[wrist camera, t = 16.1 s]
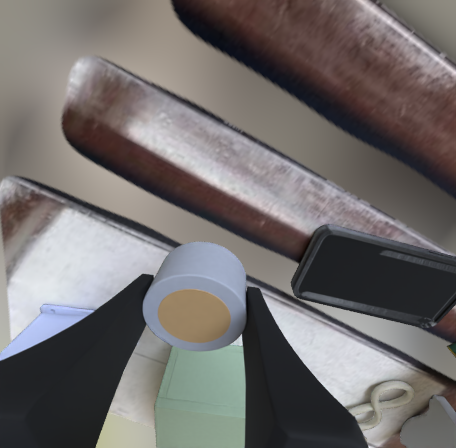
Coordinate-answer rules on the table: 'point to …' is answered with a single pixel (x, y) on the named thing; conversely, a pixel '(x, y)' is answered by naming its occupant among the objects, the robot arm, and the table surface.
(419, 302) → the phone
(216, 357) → the cabinet
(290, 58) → the table surface
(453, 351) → the crayon box
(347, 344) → the table surface
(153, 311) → the cylinder
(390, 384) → the decorative object
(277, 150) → the table surface
